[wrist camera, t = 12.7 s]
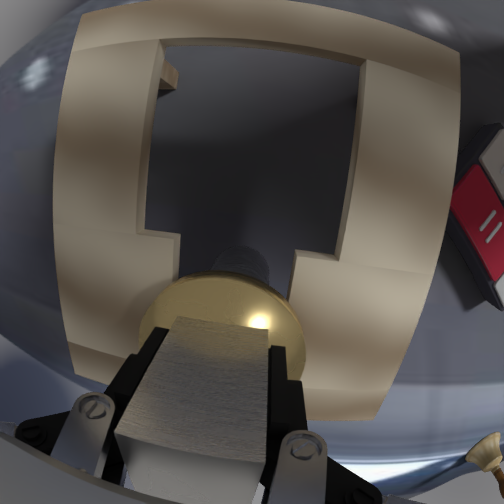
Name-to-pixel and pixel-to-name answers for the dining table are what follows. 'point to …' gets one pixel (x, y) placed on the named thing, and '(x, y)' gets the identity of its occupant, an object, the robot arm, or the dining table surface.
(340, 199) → the dining table surface
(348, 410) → the shelf
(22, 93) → the dining table surface
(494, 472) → the hand bell
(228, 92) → the dining table surface
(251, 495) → the peg
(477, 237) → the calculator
